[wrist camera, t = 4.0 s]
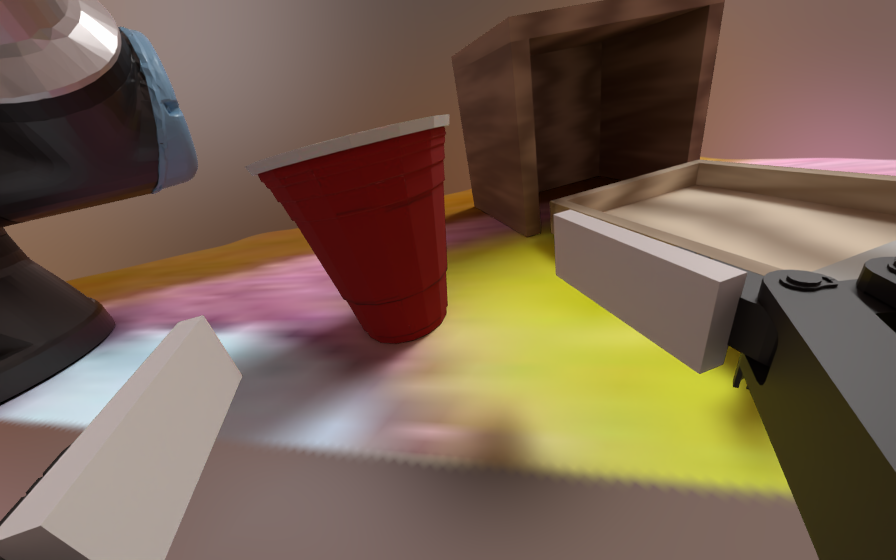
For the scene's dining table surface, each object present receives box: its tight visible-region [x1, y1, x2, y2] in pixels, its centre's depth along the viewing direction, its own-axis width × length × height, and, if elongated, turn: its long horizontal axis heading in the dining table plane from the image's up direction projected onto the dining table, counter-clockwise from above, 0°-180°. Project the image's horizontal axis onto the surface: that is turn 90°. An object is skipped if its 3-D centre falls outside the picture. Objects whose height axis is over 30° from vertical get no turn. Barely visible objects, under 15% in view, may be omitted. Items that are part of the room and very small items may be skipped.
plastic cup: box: [245, 114, 449, 344], centre depth 20 cm, size 11×11×12 cm
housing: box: [452, 0, 725, 237], centre depth 35 cm, size 20×14×17 cm
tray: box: [550, 160, 896, 281], centre depth 22 cm, size 20×20×4 cm
